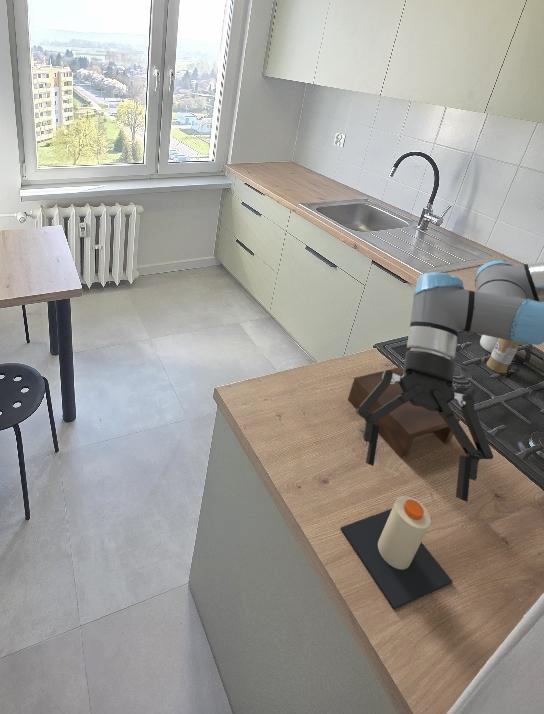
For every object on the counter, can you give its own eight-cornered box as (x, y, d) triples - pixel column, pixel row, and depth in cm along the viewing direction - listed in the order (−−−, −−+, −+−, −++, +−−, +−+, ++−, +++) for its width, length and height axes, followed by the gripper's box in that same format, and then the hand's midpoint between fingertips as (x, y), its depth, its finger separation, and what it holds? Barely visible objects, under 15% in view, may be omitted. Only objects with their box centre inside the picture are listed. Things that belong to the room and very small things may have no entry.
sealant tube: (417, 563, 69) (440, 518, 64) (393, 574, 68) (415, 528, 63) (393, 532, 73) (413, 488, 68) (371, 541, 72) (389, 496, 67)
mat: (451, 583, 67) (452, 581, 67) (393, 609, 64) (394, 608, 63) (393, 509, 78) (394, 507, 77) (340, 528, 74) (340, 527, 74)
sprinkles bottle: (482, 361, 116) (500, 321, 111) (500, 363, 116) (519, 324, 110) (492, 373, 112) (511, 332, 106) (510, 375, 111) (530, 335, 106)
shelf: (450, 441, 92) (460, 418, 89) (400, 457, 87) (410, 434, 85) (392, 387, 105) (400, 366, 103) (347, 399, 101) (354, 377, 98)
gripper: (503, 380, 75) (493, 510, 68) (353, 338, 84) (332, 449, 78) (523, 377, 68) (515, 521, 62) (359, 331, 77) (337, 452, 71)
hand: (413, 481), depth 70 cm, fingers open, 13 cm apart
